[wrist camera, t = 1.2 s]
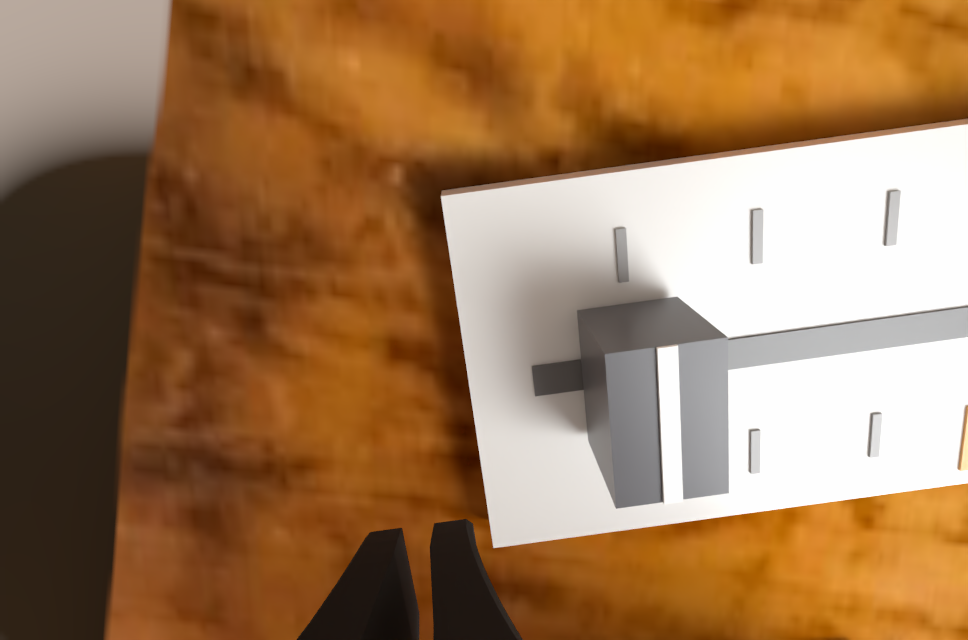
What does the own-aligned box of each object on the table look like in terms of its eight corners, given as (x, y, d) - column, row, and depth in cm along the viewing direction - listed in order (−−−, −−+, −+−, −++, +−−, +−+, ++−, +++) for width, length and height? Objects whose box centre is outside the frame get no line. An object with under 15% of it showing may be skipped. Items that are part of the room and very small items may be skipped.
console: (1195, 424, 23) (1248, 446, 21) (491, 521, 23) (493, 550, 21) (1286, 74, 19) (1358, 71, 17) (441, 190, 19) (440, 196, 17)
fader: (681, 428, 20) (730, 495, 16) (588, 441, 20) (617, 511, 16) (677, 296, 18) (729, 338, 15) (576, 310, 18) (605, 355, 15)
